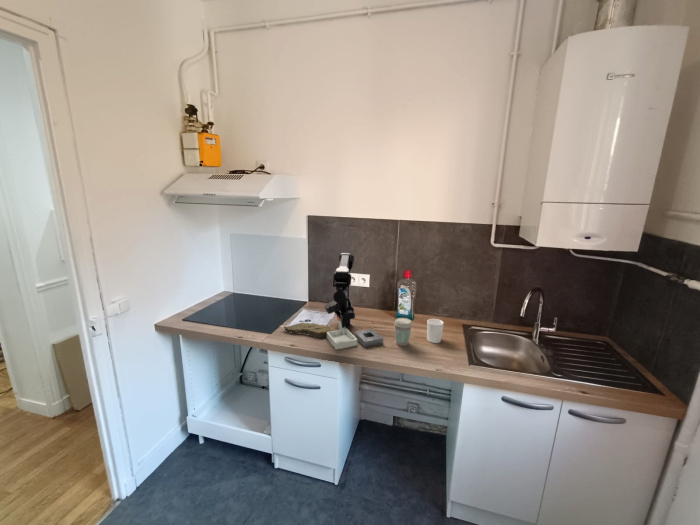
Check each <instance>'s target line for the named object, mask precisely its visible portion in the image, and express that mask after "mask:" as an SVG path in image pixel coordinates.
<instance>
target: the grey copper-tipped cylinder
mask: <svg viewBox="0 0 700 525" xmlns="http://www.w3.org/2000/svg"><path fill="white" fill-rule="evenodd" d="M336 318H337V322H338V323H337V325H338V327H337V328H338V329H337V330H338V335H340V336H343V335H345V329H346V328H342V324H341V318H340V317H339V315H338V316H337V315H336Z"/></svg>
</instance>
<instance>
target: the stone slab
mask: <svg viewBox="0 0 700 525" xmlns="http://www.w3.org/2000/svg"><path fill="white" fill-rule="evenodd" d="M283 328H284V331H285V330H286V331H287V332H286V331H285V332H286V333H289V332H292V333H296V334H295V335H299V334H298V333H305V334H309V335H308V336H311V335H312V337H314V338H316V339H320V338H326V339H327V332H331V331H332V329H331V328H330V327H329V326H328V325H325V324H319V323H313V322H300V323H299V322H298V323H295V324H292V325H288V326H285V325H283ZM292 333H291V334H292ZM305 334H304V335H305Z"/></svg>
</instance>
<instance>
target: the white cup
mask: <svg viewBox="0 0 700 525" xmlns="http://www.w3.org/2000/svg"><path fill="white" fill-rule="evenodd" d="M426 321H427V322H426V340H427V341H428V342H429V343H433V344H439V343H441V341H442V336H443V331H444V321H443V320H441V319H438V318H429V319H427V320H426Z"/></svg>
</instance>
